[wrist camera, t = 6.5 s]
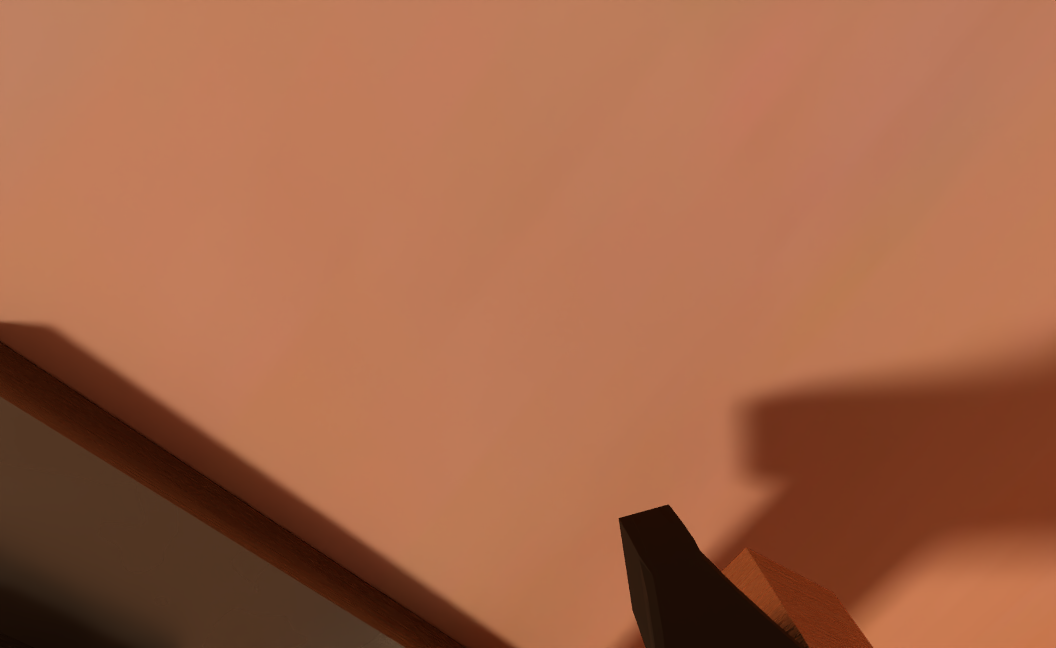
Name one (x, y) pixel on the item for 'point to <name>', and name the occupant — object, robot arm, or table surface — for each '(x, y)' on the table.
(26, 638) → the tray
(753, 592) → the beige rectangular bar
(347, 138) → the table surface
